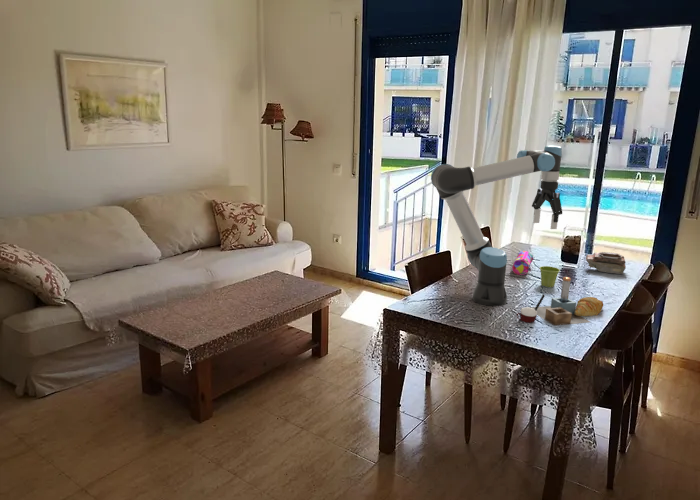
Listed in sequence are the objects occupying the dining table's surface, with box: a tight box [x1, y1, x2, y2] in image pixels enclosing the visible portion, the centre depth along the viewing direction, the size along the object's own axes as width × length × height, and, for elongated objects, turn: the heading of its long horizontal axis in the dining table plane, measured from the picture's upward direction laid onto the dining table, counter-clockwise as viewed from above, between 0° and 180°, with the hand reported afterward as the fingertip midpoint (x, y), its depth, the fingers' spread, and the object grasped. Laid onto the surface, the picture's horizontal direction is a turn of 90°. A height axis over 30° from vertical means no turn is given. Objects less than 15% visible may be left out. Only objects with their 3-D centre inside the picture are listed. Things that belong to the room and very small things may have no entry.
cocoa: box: [516, 293, 546, 324], centre depth 215 cm, size 10×6×12 cm
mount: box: [545, 307, 572, 324], centre depth 217 cm, size 7×7×4 cm
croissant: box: [574, 296, 604, 317], centre depth 228 cm, size 21×10×8 cm, turn 130°
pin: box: [559, 276, 572, 303], centre depth 225 cm, size 3×3×15 cm
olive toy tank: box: [585, 251, 627, 275], centre depth 286 cm, size 13×20×10 cm, turn 62°
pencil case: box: [511, 250, 534, 276], centre depth 287 cm, size 22×9×9 cm, turn 158°
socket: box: [550, 297, 577, 314], centre depth 227 cm, size 7×7×5 cm
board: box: [531, 305, 591, 327], centre depth 223 cm, size 17×20×1 cm
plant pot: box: [539, 265, 561, 288], centre depth 262 cm, size 9×9×9 cm
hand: (544, 225), depth 248 cm, fingers open, 13 cm apart
